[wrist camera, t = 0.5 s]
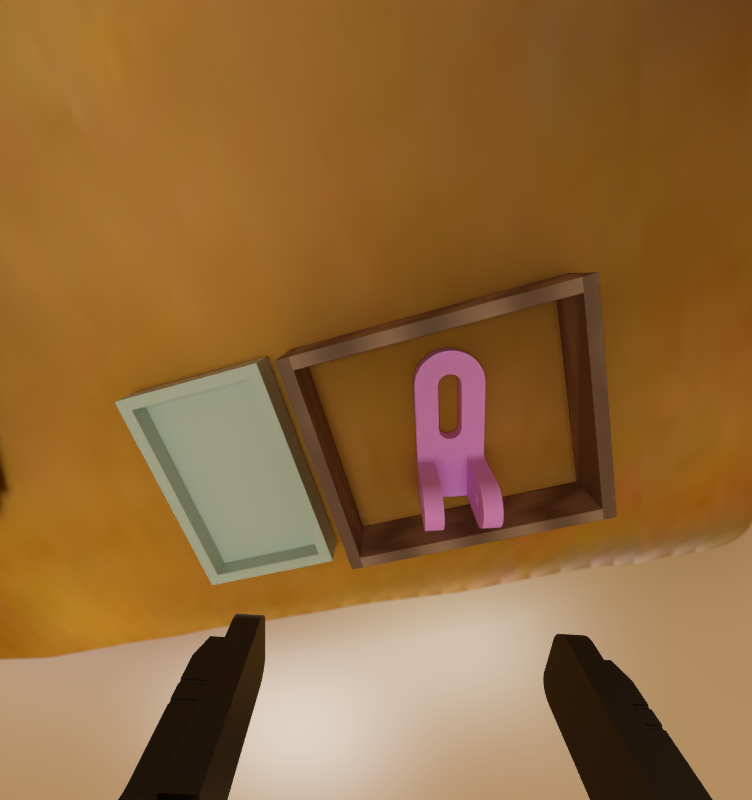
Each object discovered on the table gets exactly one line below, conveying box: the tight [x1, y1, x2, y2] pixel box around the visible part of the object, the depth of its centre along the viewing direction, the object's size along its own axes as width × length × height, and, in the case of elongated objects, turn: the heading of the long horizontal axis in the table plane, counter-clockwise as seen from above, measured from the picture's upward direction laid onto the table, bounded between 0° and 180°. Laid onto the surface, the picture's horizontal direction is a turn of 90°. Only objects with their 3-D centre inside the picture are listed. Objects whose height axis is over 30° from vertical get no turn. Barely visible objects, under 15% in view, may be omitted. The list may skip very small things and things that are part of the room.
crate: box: [275, 272, 617, 569], centre depth 29 cm, size 22×19×4 cm
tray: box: [115, 356, 336, 585], centre depth 31 cm, size 12×19×2 cm, turn 15°
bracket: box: [413, 348, 504, 531], centre depth 27 cm, size 13×6×7 cm, turn 4°
